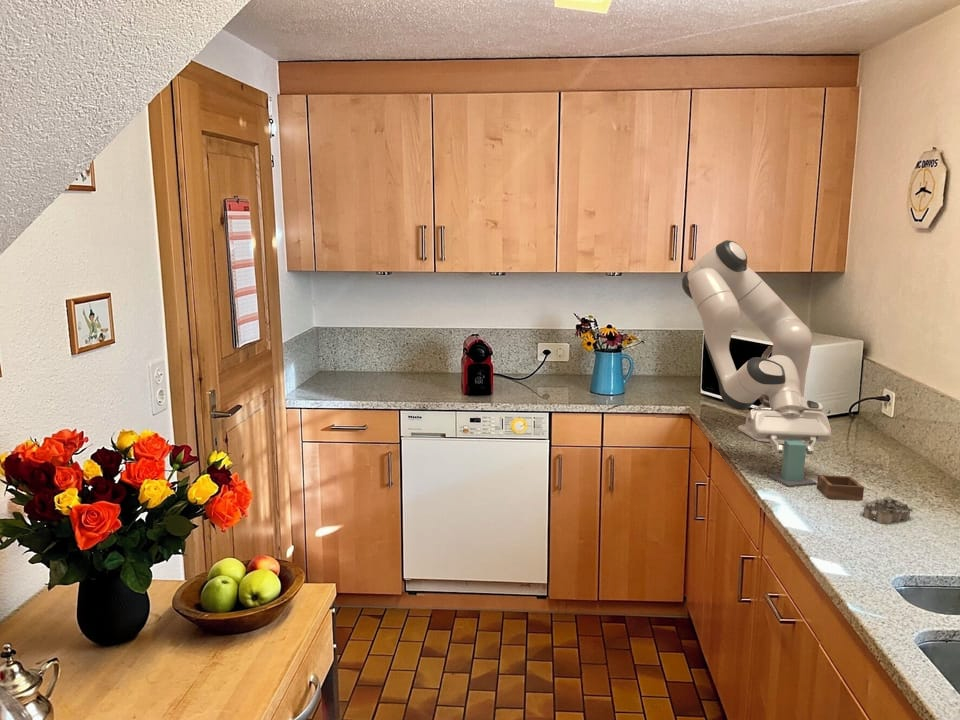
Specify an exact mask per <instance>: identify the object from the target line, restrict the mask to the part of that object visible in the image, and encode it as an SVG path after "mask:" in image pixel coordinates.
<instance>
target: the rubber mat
mask: <svg viewBox="0 0 960 720" xmlns="http://www.w3.org/2000/svg"><path fill="white" fill-rule="evenodd" d="M765 475H766V476H767V477H766V476H765V477H766V478H768V477H769V478H768V479H770V478H771V479H770V480H773V481H775V480H776V481H775V482H777V481H778V482H777V483H779V482H780V483H779V484H781V483H782V484H781V485H783V486H784V487H787V486H788V487H787V488H796V487H797V488H798V487H805V486H807V485H808V486H817V482H816V481H815V480H812V479H810V478H808V477H806V476H804V475H803V482H802V481H786V480H785V479H784V478H783V477H782V476H781V472H777V473H767V474H765ZM795 486H796V487H795Z"/></svg>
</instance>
